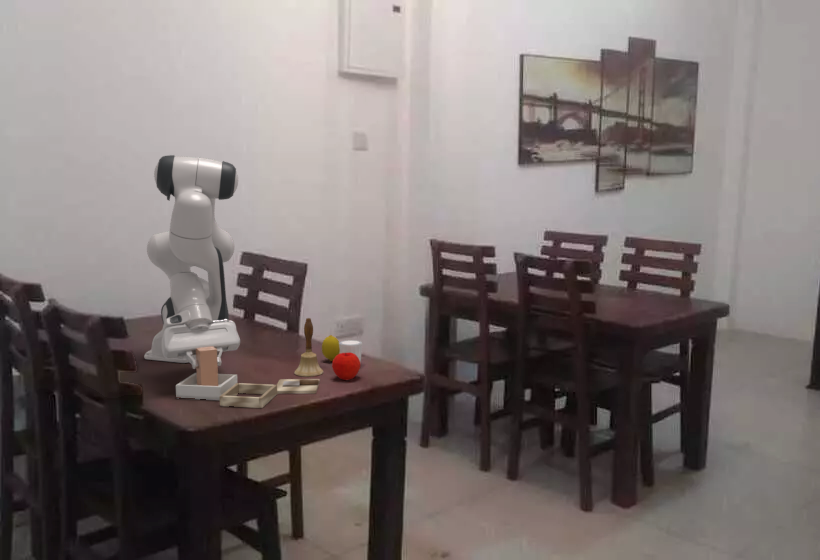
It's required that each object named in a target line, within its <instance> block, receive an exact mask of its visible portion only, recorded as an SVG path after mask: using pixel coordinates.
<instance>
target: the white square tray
mask: <svg viewBox="0 0 820 560" xmlns="http://www.w3.org/2000/svg"><path fill="white" fill-rule="evenodd" d="M236 383H238V374H233V373H232V374H231V373H230V374H229V373H227V374H226V373H218V386H203V385H197V372H194V373H192V374H191V375H189V376H188V377H186V378H185V379H183V380H181V381H180V382H179V383H177V384H176V385H175V395H176V397H181V398H195V399H194V400H200V399H206V400H205V401H220V396H221V395H222V394H223V393H225V392H226V391H227V390H228V389H230V388H231V387H232V386H234V385H235V384H236Z"/></svg>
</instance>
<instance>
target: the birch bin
mask: <svg viewBox="0 0 820 560" xmlns="http://www.w3.org/2000/svg"><path fill="white" fill-rule="evenodd" d="M238 393H239V394H243V393H246V395H248V394H249V395H260V396H237V395H239V394H238ZM277 395H278V394H277V384H267V383H266V384H265V383H264V384H263V383H245V382H244V383H243V382H241V383H240V382H239V383H238V382H237V383H236V384H235V385H234V386H232V387H231V388H230V389H228V390H227V391H226V392H225V393H223V394H222V395H221V396H220V400H219V406H220V407H229V406H234V408H252V409H263V408H264V407H265V406H266V405H268V403H270V402H271V400H273V398H275V397H276V396H277Z"/></svg>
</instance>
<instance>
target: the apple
mask: <svg viewBox="0 0 820 560" xmlns="http://www.w3.org/2000/svg"><path fill="white" fill-rule="evenodd" d="M331 363H332V364H331V368H332V371H333V372H334V374H335V375H336V377H338V379H340V380H343V381H349V380H353V379H354V378H355V377H356V376H357V375H358V373H359V371H360V369H361V365H360V360H359V358H358V357H357V356H356V355H355V354H353V353H339V354H338V355H337V356H336V357H335V358H334V359H333V361H331Z"/></svg>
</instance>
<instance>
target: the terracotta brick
mask: <svg viewBox="0 0 820 560" xmlns="http://www.w3.org/2000/svg"><path fill="white" fill-rule="evenodd" d="M217 357H218V356H217V349H216V348H214V347H213V346H210V347H202V348H196V360H198V361H199V368H197V369H196V370H195V371H196V373H197V385H203V386H218V374H219V371H218V370H219V369H218V368H219V367H218V365H217Z"/></svg>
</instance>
